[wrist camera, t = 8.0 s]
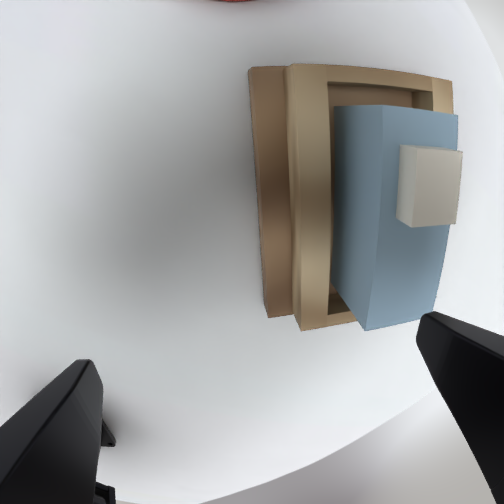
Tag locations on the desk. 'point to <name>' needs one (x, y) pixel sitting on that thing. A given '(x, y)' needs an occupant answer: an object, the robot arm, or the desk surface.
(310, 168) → the jig
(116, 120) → the desk surface
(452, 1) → the desk surface
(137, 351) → the desk surface
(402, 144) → the blue slab
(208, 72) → the desk surface
